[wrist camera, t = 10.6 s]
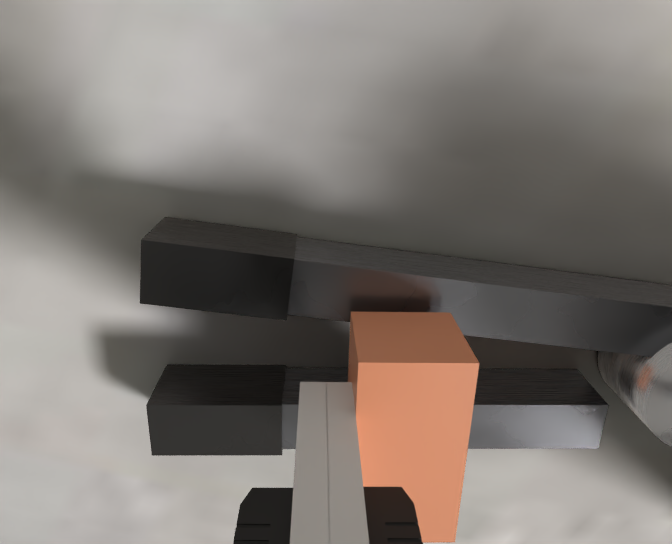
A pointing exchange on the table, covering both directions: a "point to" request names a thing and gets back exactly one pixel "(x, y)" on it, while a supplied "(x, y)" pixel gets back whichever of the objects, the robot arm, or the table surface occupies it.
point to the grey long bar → (421, 297)
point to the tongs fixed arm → (284, 383)
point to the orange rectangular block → (414, 409)
